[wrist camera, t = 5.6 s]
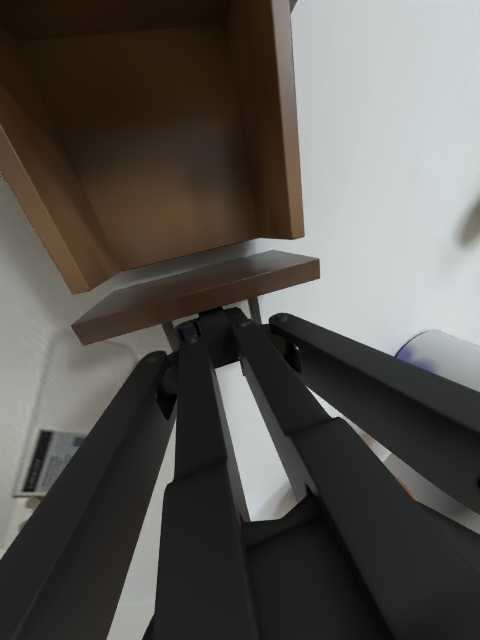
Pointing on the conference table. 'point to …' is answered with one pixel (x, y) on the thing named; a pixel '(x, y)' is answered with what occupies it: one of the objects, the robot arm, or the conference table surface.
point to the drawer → (154, 148)
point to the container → (445, 357)
